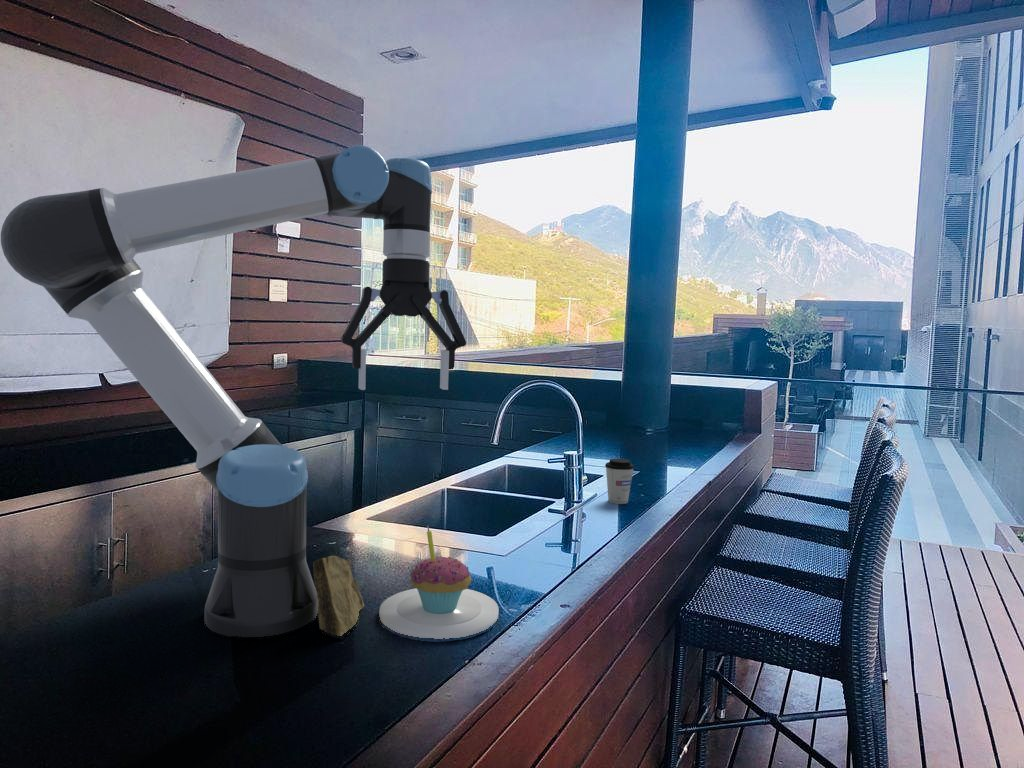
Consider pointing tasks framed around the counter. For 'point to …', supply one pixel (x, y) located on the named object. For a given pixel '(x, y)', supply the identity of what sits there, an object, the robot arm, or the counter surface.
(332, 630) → the rock
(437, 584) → the cupcake
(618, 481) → the coffee cup
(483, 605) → the plate
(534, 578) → the counter surface
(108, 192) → the robot arm
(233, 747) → the counter surface
